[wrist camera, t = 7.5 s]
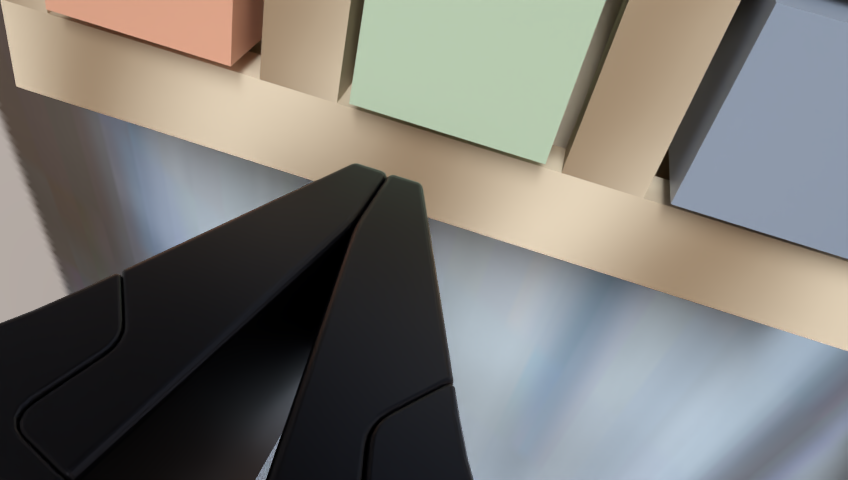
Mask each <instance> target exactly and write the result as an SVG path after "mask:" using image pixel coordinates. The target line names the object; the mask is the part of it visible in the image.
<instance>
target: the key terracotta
mask: <svg viewBox="0 0 848 480" xmlns="http://www.w3.org/2000/svg"><path fill="white" fill-rule="evenodd" d="M45 5H46V9H47V10H50V11H53V12H56V13H60V14H63V15H66V16H69V17H72V18H76V19H79V20H82V21H85V22H89V23H92V24H95V25H98V26H102V27H105V28H108V29H111V30H114V31H118V32H121V33H124V34H127V35H131V36H134V37H137V38H140V39H144V40H147V41H150V42H153V43H156V44H160V45H163V46H166V47H169V48H173V49H176V50H179V51H182V52H186V53H189V54H192V55H195V56H198V57H202V58H205V59H208V60H211V61H215V62H218V63H221V64H224V65H228V66H232V65H233V64H234V63H235V62H236V61H238V60H239V59H240V58H241V57H242V56H243V55H244V54H245V53H246V52H248V51H249V50H250V49H251V48H252V47H253V46H254V45H255V44H257V43H258V42H259V41H260V40H261V39H262V28H263V11H264V0H45Z"/></svg>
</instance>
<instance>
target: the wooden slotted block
mask: <svg viewBox="0 0 848 480" xmlns="http://www.w3.org/2000/svg"><path fill="white" fill-rule="evenodd" d="M364 1H365V0H264V11H263V28H262V39H261V40H260V41H259V42H258V43H257V44H255V45H254V46H253V47H252V48H251V49H250V50H249V51H248V52H246V53H245V54H244V55H243V56H242V57H241V58H240V59H239V60H238V61H236V62H235V63H234V64H233V65H232V66H228V65H224V64H221V63H218V62H215V61H211V60H208V59H205V58H202V57H198V56H195V55H192V54H189V53H186V52H182V51H179V50H176V49H173V48H169V47H166V46H163V45H160V44H156V43H153V42H150V41H147V40H144V39H140V38H137V37H134V36H131V35H127V34H124V33H121V32H118V31H114V30H111V29H108V28H105V27H102V26H98V25H95V24H92V23H89V22H85V21H82V20H79V19H76V18H72V17H69V16H66V15H63V14H60V13H56V12H53V11H50V10H47V9H46V5H45V0H1V5H2V10H3V16H4V21H5V27H6V32H7V38H8V43H9V49H10V54H11V60H12V65H13V71H14V76H15V82H16V86H17V87H20V88H23V89H26V90H29V91H32V92H36V93H39V94H42V95H45V96H48V97H51V98H54V99H58V100H61V101H64V102H67V103H70V104H73V105H76V106H80V107H83V108H86V109H89V110H92V111H95V112H98V113H102V114H105V115H108V116H111V117H114V118H117V119H120V120H124V121H127V122H130V123H133V124H136V125H139V126H142V127H146V128H149V129H152V130H155V131H158V132H161V133H164V134H168V135H171V136H174V137H177V138H180V139H183V140H186V141H189V142H193V143H196V144H199V145H202V146H205V147H208V148H211V149H215V150H218V151H221V152H224V153H227V154H230V155H233V156H237V157H240V158H243V159H246V160H249V161H252V162H255V163H259V164H262V165H265V166H268V167H271V168H274V169H277V170H281V171H284V172H287V173H290V174H293V175H296V176H299V177H303V178H306V179H309V180H312V181H316V180H318V179H320V178H323V177H325V176H327V175H329V174H331V173H333V172H335V171H338V170H340V169H342V168H344V167H346V166H348V165H351V164H354V163H358V164H361V165H365V166H368V167H371V168H374V169H377V170H380V171H383V172H385V174H386V176H387V177H388V176H390V175H396V176H399V177H403V178H406V179H409V180H412V181H416V182H419V183H420V184H421V185H422V187H423V191H424V197H425V204H426V210H427V216H428V218H431V219H434V220H438V221H441V222H444V223H447V224H450V225H453V226H456V227H460V228H463V229H466V230H469V231H472V232H475V233H478V234H482V235H485V236H488V237H491V238H494V239H497V240H500V241H504V242H507V243H510V244H513V245H516V246H519V247H522V248H526V249H529V250H532V251H535V252H538V253H541V254H544V255H548V256H551V257H554V258H557V259H560V260H563V261H566V262H569V263H573V264H576V265H579V266H582V267H585V268H588V269H591V270H595V271H598V272H601V273H604V274H607V275H610V276H613V277H617V278H620V279H623V280H626V281H629V282H632V283H635V284H639V285H642V286H645V287H648V288H651V289H654V290H657V291H661V292H664V293H667V294H670V295H673V296H676V297H679V298H683V299H686V300H689V301H692V302H695V303H698V304H701V305H705V306H708V307H711V308H714V309H717V310H720V311H723V312H727V313H730V314H733V315H736V316H739V317H742V318H745V319H748V320H752V321H755V322H758V323H761V324H764V325H767V326H770V327H774V328H777V329H780V330H783V331H786V332H789V333H792V334H796V335H799V336H802V337H805V338H808V339H811V340H814V341H818V342H821V343H824V344H827V345H830V346H833V347H836V348H840V349H843V350H846V351H848V259H846V258H843V257H840V256H837V255H833V254H830V253H827V252H824V251H821V250H817V249H814V248H811V247H808V246H804V245H801V244H798V243H795V242H791V241H788V240H785V239H782V238H779V237H775V236H772V235H769V234H766V233H762V232H759V231H756V230H753V229H750V228H746V227H743V226H740V225H737V224H733V223H730V222H727V221H724V220H720V219H717V218H714V217H711V216H708V215H704V214H701V213H698V212H695V211H691V210H688V209H685V208H682V207H678V206H675V205H672V204H671V201H670V174H669V146H670V143H671V141H672V139H673V137H674V135H675V133H676V131H677V129H678V127H679V125H680V123H681V121H682V119H683V117H684V115H685V113H686V111H687V109H688V107H689V105H690V103H691V101H692V99H693V97H694V95H695V93H696V91H697V89H698V87H699V85H700V83H701V80H702V78H703V76H704V74H705V72H706V70H707V68H708V66H709V64H710V62H711V60H712V58H713V56H714V54H715V52H716V50H717V48H718V46H719V44H720V42H721V40H722V38H723V36H724V34H725V32H726V30H727V28H728V26H729V24H730V22H731V20H732V18H733V15H734V13H735V11H736V9H737V7H738V5H739V3H740V1H741V0H606V1H605V4H604V7H603V9H602V12H601V15H600V18H599V20H598V23H597V26H596V28H595V31H594V34H593V37H592V39H591V42H590V45H589V47H588V50H587V53H586V55H585V58H584V61H583V64H582V66H581V69H580V72H579V74H578V77H577V80H576V83H575V85H574V88H573V91H572V93H571V96H570V99H569V102H568V104H567V107H566V110H565V112H564V115H563V118H562V120H561V123H560V126H559V129H558V131H557V134H556V137H555V139H554V142H553V145H552V148H551V150H550V153H549V156H548V158H547V161H546V164H542V163H539V162H536V161H533V160H529V159H526V158H523V157H520V156H516V155H513V154H510V153H507V152H503V151H500V150H497V149H494V148H491V147H487V146H484V145H481V144H478V143H474V142H471V141H468V140H465V139H462V138H458V137H455V136H452V135H449V134H445V133H442V132H439V131H436V130H432V129H429V128H426V127H423V126H420V125H416V124H413V123H410V122H407V121H403V120H400V119H397V118H394V117H390V116H387V115H384V114H381V113H378V112H374V111H371V110H368V109H365V108H361V107H358V106H355V105H352V104H349V101H350V94H351V88H352V81H353V74H354V68H355V61H356V54H357V48H358V41H359V34H360V28H361V21H362V14H363V8H364Z"/></svg>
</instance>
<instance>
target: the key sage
mask: <svg viewBox="0 0 848 480" xmlns="http://www.w3.org/2000/svg"><path fill="white" fill-rule="evenodd" d="M605 1H606V0H365V1H364V8H363V14H362V21H361V28H360V34H359V41H358V48H357V54H356V61H355V68H354V74H353V81H352V88H351V94H350V101H349V104H352V105H355V106H358V107H361V108H365V109H368V110H371V111H374V112H378V113H381V114H384V115H387V116H390V117H394V118H397V119H400V120H403V121H407V122H410V123H413V124H416V125H420V126H423V127H426V128H429V129H432V130H436V131H439V132H442V133H445V134H449V135H452V136H455V137H458V138H462V139H465V140H468V141H471V142H474V143H478V144H481V145H484V146H487V147H491V148H494V149H497V150H500V151H503V152H507V153H510V154H513V155H516V156H520V157H523V158H526V159H529V160H533V161H536V162H539V163H542V164H546V161H547V158H548V156H549V153H550V150H551V148H552V145H553V142H554V139H555V137H556V134H557V131H558V129H559V126H560V123H561V120H562V118H563V115H564V112H565V110H566V107H567V104H568V102H569V99H570V96H571V93H572V91H573V88H574V85H575V83H576V80H577V77H578V74H579V72H580V69H581V66H582V64H583V61H584V58H585V55H586V53H587V50H588V47H589V45H590V42H591V39H592V37H593V34H594V31H595V28H596V26H597V23H598V20H599V18H600V15H601V12H602V9H603V7H604V4H605Z"/></svg>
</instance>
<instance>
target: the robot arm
mask: <svg viewBox="0 0 848 480" xmlns="http://www.w3.org/2000/svg"><path fill="white" fill-rule="evenodd" d="M281 434H282V435H281ZM280 435H281V438H280V440H279V443H278V446H277V449H276V452H275V455H274V458H273V461H272V464H271V467H270V469H269V472H268V475H267V478H266V480H473V476H472V472H471V469H470V465H469V462H468V457H467V452H466V447H465V442H464V437H463V432H462V427H461V422H460V417H459V411H458V405H457V398H456V392H455V388H454V386H453V375H452V369H451V363H450V356H449V350H448V344H447V337H446V331H445V324H444V318H443V312H442V305H441V299H440V293H439V286H438V280H437V274H436V267H435V261H434V255H433V248H432V242H431V235H430V229H429V223H428V216H427V210H426V204H425V197H424V191H423V187H422V185H421V184H420V183H419V182H416V181H412V180H409V179H406V178H403V177H399V176H396V175H390V176H388V177H387V176H386V174H385V172H383V171H380V170H377V169H374V168H371V167H368V166H365V165H361V164H358V163H354V164H351V165H348V166H346V167H344V168H342V169H340V170H338V171H335V172H333V173H331V174H329V175H327V176H325V177H323V178H320V179H318V180H316V181H314V182H312V183H310V184H308V185H305V186H303V187H301V188H299V189H297V190H295V191H292V192H290V193H288V194H286V195H284V196H282V197H280V198H277V199H275V200H273V201H271V202H269V203H267V204H265V205H262V206H260V207H258V208H256V209H254V210H252V211H250V212H247V213H245V214H243V215H241V216H239V217H237V218H235V219H232V220H230V221H228V222H226V223H224V224H222V225H220V226H217V227H215V228H213V229H211V230H209V231H207V232H205V233H202V234H200V235H198V236H196V237H194V238H192V239H190V240H187V241H185V242H183V243H181V244H179V245H177V246H174V247H172V248H170V249H168V250H166V251H164V252H162V253H159V254H157V255H155V256H153V257H151V258H149V259H147V260H144V261H142V262H140V263H138V264H136V265H134V266H132V267H129V268H127V269H125V270H123V272H122V277H121V275H119V274H114V275H112V276H109V277H107V278H105V279H103V280H101V281H99V282H97V283H94V284H92V285H90V286H88V287H86V288H84V289H81V290H79V291H77V292H75V293H72V294H70V295H68V296H65V297H63V298H61V299H59V300H57V301H54V302H52V303H49V304H47V305H45V306H42V307H40V308H38V309H36V310H33V311H31V312H28V313H26V314H23V315H20V316H18V317H15V318H13V319H10V320H8V321H5V322H2V323H0V480H255V479H256V477H257V476H258V474H259V472H260V470H261V469H262V467H263V465H264V463H265V462H266V460H267V458H268V456H269V455H270V453H271V451H272V449H273V448H274V446H275V444H276V442H277V441H278V439H279V437H280Z"/></svg>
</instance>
